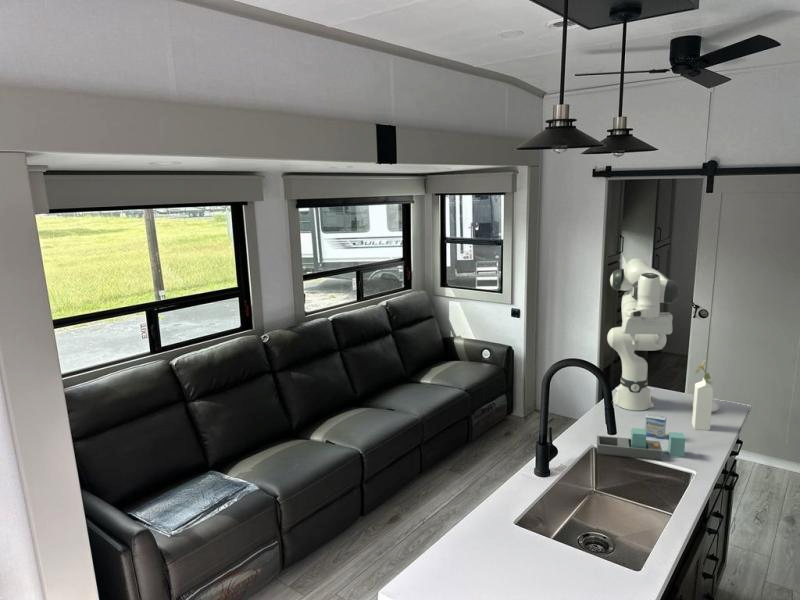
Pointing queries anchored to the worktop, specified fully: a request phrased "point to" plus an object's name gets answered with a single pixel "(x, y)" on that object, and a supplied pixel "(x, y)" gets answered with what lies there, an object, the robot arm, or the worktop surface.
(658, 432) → the medicine box
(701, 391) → the milk
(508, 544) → the worktop surface
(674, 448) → the teal rectangular block
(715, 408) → the flower in vase
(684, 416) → the worktop surface
